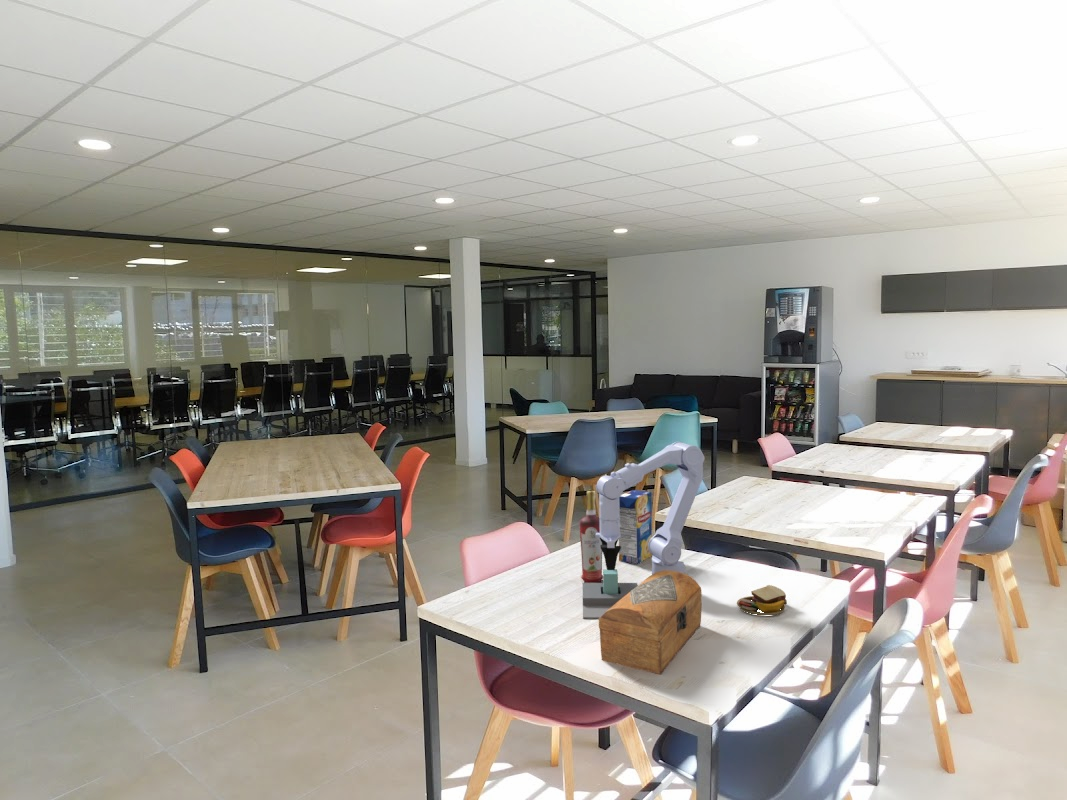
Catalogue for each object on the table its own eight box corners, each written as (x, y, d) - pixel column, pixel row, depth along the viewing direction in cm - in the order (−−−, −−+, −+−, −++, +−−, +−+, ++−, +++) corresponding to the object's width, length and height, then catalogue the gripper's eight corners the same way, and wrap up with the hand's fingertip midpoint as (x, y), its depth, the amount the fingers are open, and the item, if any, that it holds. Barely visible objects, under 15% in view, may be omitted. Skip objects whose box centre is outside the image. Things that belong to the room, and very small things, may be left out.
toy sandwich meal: (728, 602, 193) (728, 586, 192) (773, 598, 195) (773, 582, 195) (750, 620, 181) (750, 603, 180) (797, 615, 183) (797, 598, 182)
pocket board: (637, 591, 202) (637, 582, 202) (640, 607, 190) (640, 598, 190) (582, 590, 203) (582, 582, 203) (582, 606, 191) (582, 598, 191)
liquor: (604, 577, 214) (603, 489, 212) (604, 585, 207) (603, 494, 204) (580, 577, 215) (579, 489, 212) (579, 585, 208) (578, 494, 205)
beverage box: (618, 561, 229) (618, 496, 227) (633, 552, 238) (633, 489, 236) (637, 564, 225) (636, 498, 223) (652, 555, 234) (651, 492, 232)
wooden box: (664, 677, 152) (663, 616, 150) (597, 660, 160) (596, 602, 159) (707, 627, 177) (707, 575, 175) (648, 614, 186) (647, 564, 184)
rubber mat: (611, 606, 191) (611, 605, 191) (613, 618, 183) (613, 617, 183) (582, 606, 191) (582, 605, 191) (583, 618, 183) (582, 617, 183)
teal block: (617, 596, 199) (617, 569, 198) (618, 601, 195) (617, 574, 194) (603, 596, 199) (603, 569, 198) (603, 601, 195) (603, 574, 194)
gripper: (594, 511, 202) (595, 556, 203) (596, 525, 188) (596, 573, 189) (618, 511, 202) (619, 556, 203) (621, 525, 187) (622, 573, 188)
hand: (610, 565), depth 196 cm, fingers open, 7 cm apart
